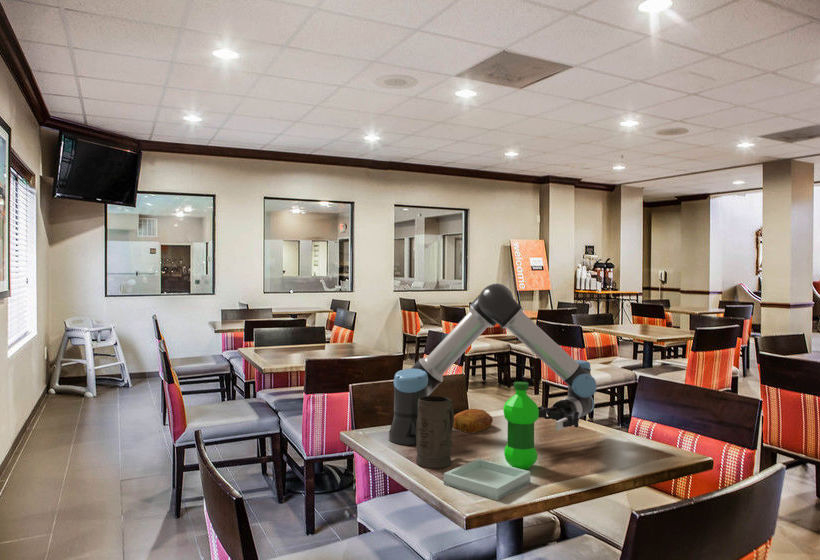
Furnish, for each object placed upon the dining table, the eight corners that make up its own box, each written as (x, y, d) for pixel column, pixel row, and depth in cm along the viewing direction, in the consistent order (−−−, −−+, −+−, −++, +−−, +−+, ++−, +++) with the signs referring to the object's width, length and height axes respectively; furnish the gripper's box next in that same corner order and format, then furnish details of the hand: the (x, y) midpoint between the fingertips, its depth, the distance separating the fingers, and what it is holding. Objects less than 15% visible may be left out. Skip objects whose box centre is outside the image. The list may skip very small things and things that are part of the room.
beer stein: (440, 471, 166) (443, 401, 167) (408, 465, 171) (411, 397, 172) (462, 460, 179) (464, 396, 180) (431, 454, 185) (434, 392, 186)
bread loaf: (498, 433, 215) (500, 411, 216) (474, 435, 204) (477, 413, 204) (466, 425, 225) (469, 404, 225) (442, 427, 213) (445, 405, 214)
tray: (443, 484, 156) (443, 473, 156) (478, 468, 169) (478, 458, 169) (497, 500, 145) (497, 488, 145) (530, 482, 158) (530, 471, 158)
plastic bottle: (497, 462, 175) (498, 380, 174) (529, 460, 177) (530, 379, 177) (510, 473, 165) (511, 386, 164) (544, 471, 167) (545, 385, 167)
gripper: (602, 428, 186) (574, 442, 170) (533, 415, 202) (501, 427, 186) (602, 404, 186) (574, 417, 170) (533, 394, 202) (501, 404, 186)
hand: (536, 422), depth 178 cm, fingers open, 13 cm apart
